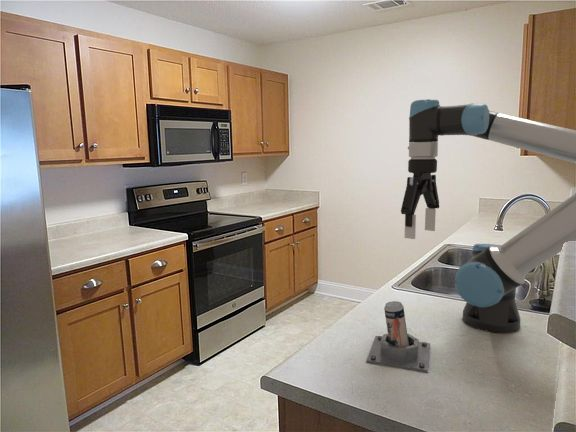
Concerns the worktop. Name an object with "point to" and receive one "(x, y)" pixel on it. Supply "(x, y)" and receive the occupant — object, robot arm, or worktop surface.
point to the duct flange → (400, 354)
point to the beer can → (396, 324)
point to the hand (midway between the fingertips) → (420, 234)
